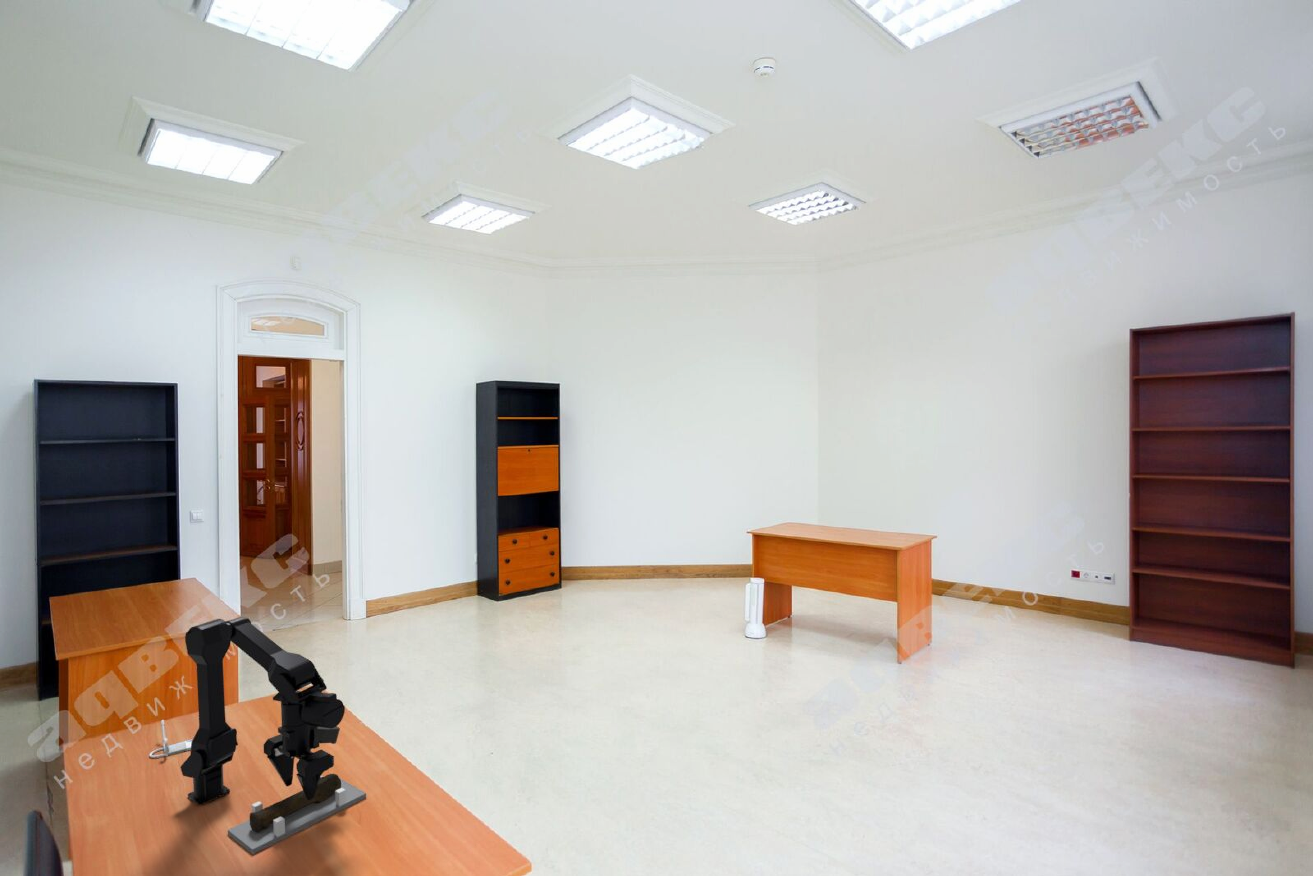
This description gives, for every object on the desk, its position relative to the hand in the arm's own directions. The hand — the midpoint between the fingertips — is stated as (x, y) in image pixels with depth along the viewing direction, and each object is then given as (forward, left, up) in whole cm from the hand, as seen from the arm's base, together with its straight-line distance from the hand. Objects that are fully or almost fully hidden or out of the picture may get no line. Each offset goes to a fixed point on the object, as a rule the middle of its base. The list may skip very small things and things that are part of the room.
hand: (299, 792), depth 148 cm
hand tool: (-1, 0, -4) cm, 4 cm away
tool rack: (0, 0, -5) cm, 5 cm away
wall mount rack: (-57, -1, -6) cm, 57 cm away
